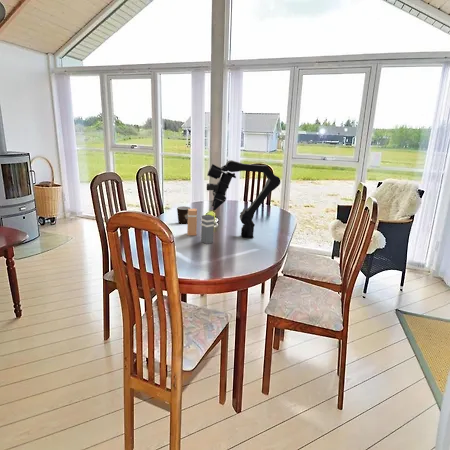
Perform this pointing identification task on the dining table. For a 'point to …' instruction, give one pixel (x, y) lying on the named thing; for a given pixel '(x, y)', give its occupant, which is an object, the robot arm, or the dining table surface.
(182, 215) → the coffee mug
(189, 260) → the dining table surface
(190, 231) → the post one band
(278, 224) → the dining table surface
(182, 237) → the dining table surface
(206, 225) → the post two bands
